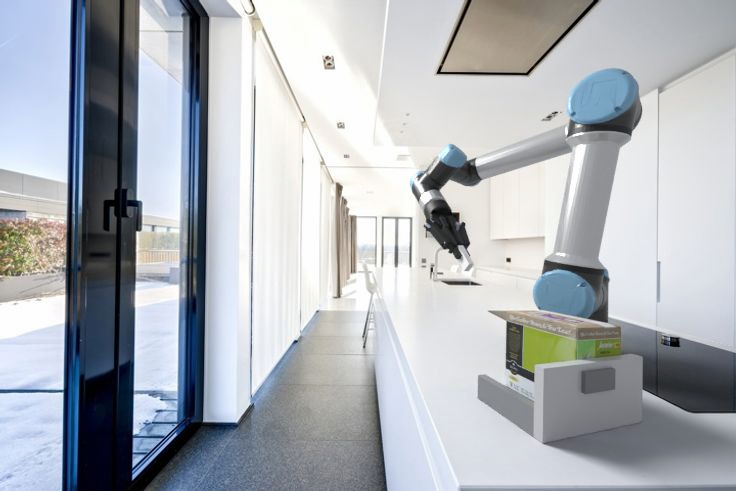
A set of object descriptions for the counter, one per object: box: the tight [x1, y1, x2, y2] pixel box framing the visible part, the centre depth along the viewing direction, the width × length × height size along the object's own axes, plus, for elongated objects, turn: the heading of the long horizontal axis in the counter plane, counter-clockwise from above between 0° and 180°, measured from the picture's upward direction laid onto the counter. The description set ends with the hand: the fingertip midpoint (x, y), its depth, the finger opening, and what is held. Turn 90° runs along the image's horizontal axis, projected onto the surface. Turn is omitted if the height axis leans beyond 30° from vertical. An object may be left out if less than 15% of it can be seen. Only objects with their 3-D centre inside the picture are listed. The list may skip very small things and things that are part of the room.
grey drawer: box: [477, 353, 644, 444], centre depth 52 cm, size 20×14×10 cm
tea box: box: [504, 309, 622, 402], centre depth 55 cm, size 15×10×15 cm
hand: (468, 267), depth 78 cm, fingers closed
